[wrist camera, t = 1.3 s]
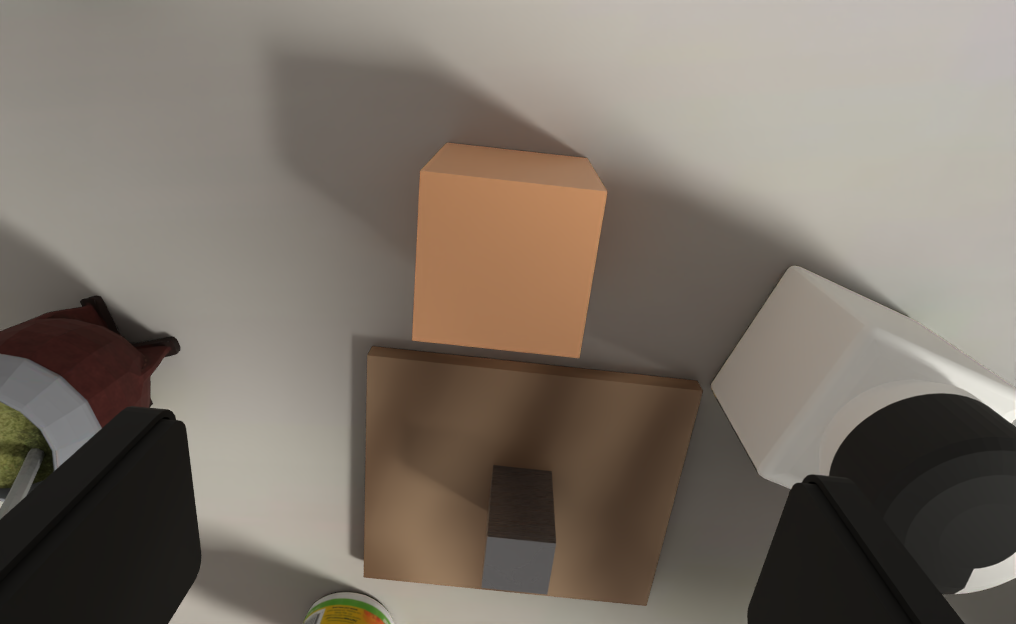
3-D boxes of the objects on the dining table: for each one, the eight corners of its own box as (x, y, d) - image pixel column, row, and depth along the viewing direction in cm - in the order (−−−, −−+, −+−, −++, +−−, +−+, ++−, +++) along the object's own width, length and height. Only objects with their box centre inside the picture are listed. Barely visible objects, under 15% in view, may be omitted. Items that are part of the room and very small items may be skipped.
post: (551, 471, 31) (556, 543, 26) (544, 517, 32) (547, 594, 27) (493, 465, 31) (487, 536, 26) (487, 511, 32) (481, 588, 27)
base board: (697, 380, 30) (703, 390, 29) (643, 591, 35) (646, 605, 34) (372, 346, 30) (367, 355, 29) (367, 563, 35) (363, 577, 34)
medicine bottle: (705, 386, 30) (811, 579, 19) (789, 260, 27) (968, 398, 16) (827, 438, 31) (996, 650, 20) (919, 321, 28) (1171, 490, 17)
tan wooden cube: (587, 158, 26) (607, 191, 19) (567, 289, 28) (579, 358, 22) (446, 142, 26) (420, 170, 19) (438, 275, 28) (411, 340, 22)
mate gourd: (22, 300, 29) (-431, 519, 15) (174, 272, 28) (-160, 476, 15) (92, 430, 32) (-239, 714, 18) (232, 407, 31) (-2, 687, 17)
